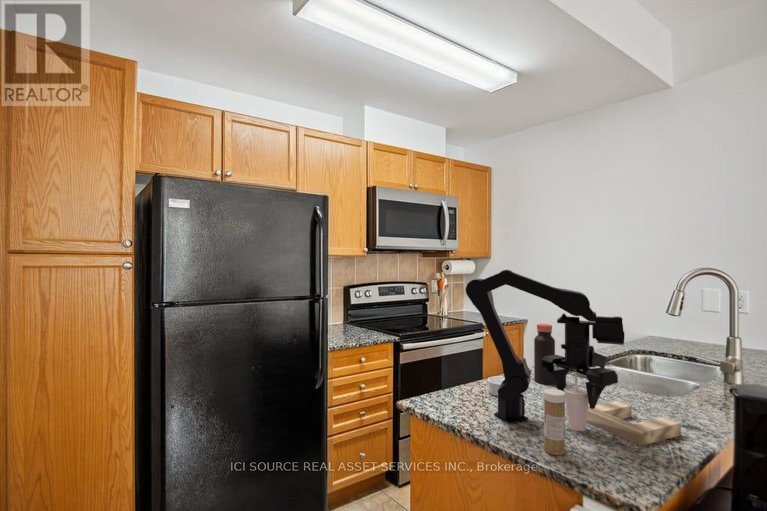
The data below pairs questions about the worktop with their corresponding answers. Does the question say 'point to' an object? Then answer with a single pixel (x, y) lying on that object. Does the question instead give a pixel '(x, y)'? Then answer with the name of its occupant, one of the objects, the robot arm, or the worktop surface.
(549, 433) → the sprinkles bottle
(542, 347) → the vinegar
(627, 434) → the slot board
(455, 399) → the worktop surface
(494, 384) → the ramekin
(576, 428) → the smoothie
